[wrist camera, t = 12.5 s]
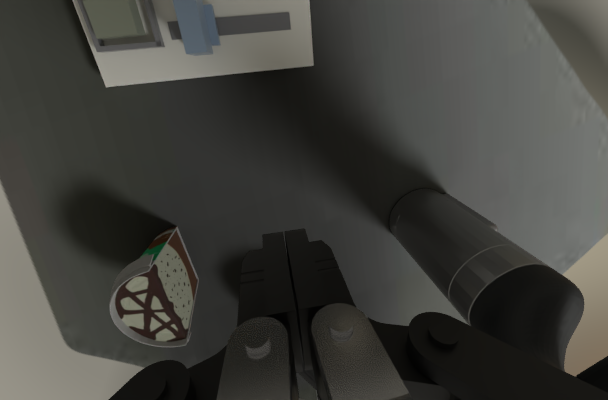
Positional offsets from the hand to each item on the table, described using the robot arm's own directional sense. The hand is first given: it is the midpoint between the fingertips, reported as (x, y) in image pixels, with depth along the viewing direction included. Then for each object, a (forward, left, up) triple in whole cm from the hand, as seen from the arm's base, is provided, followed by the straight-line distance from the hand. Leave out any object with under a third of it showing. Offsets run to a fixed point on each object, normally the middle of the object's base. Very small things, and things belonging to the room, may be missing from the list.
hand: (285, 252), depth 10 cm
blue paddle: (+4, -10, -22) cm, 24 cm away
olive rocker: (+10, -11, -22) cm, 26 cm away
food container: (+16, +16, -25) cm, 34 cm away
